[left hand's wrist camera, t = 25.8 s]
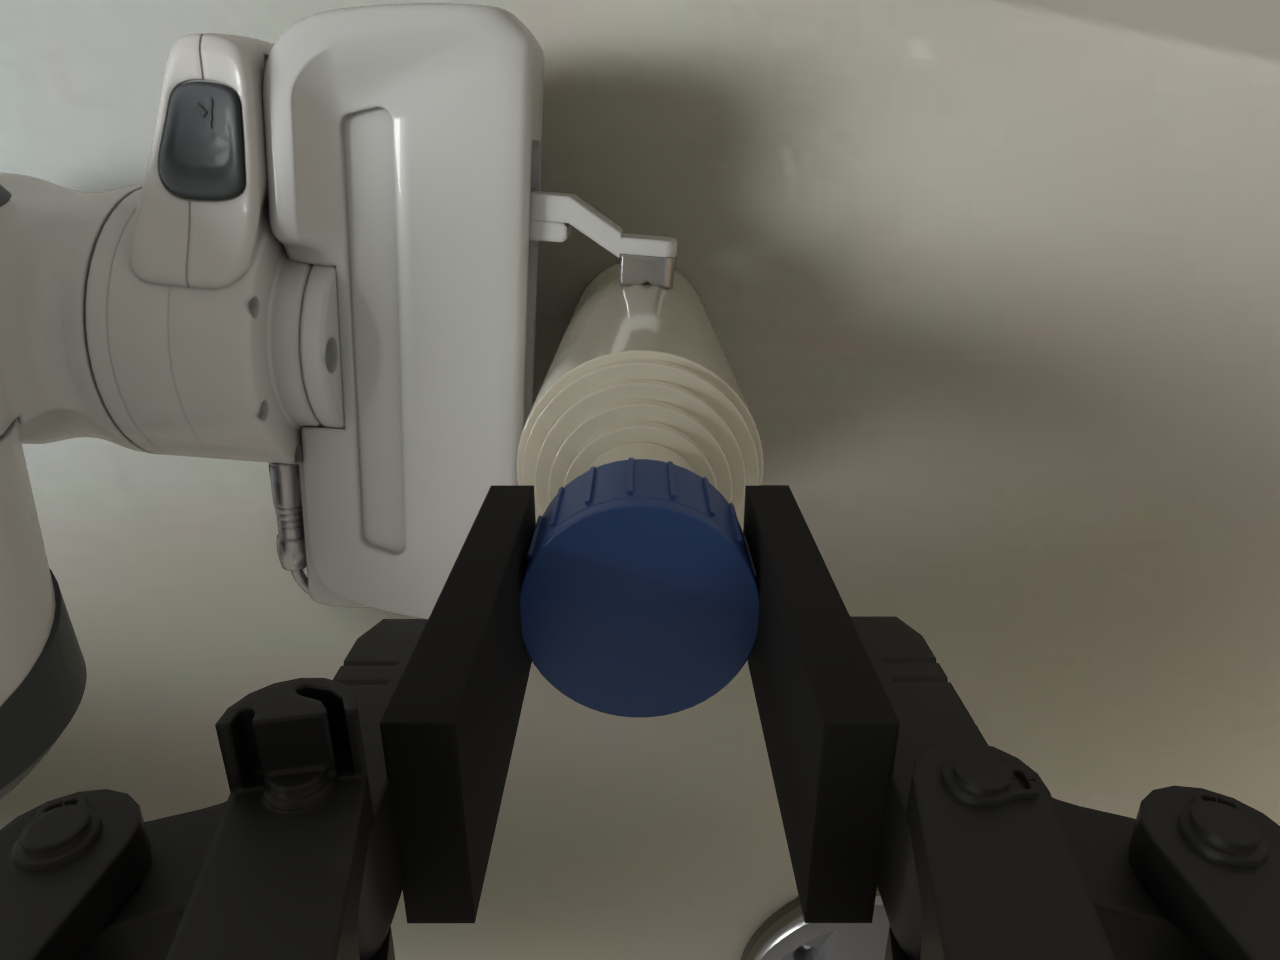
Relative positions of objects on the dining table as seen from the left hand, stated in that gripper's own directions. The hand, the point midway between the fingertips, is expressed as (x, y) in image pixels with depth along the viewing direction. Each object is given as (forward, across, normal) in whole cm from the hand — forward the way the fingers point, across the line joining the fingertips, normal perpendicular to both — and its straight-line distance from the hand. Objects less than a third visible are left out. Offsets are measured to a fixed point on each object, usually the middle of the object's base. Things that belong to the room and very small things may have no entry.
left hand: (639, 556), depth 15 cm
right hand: (+14, -1, 0) cm, 14 cm away
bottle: (+21, 0, 0) cm, 21 cm away
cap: (-2, 0, 0) cm, 2 cm away
